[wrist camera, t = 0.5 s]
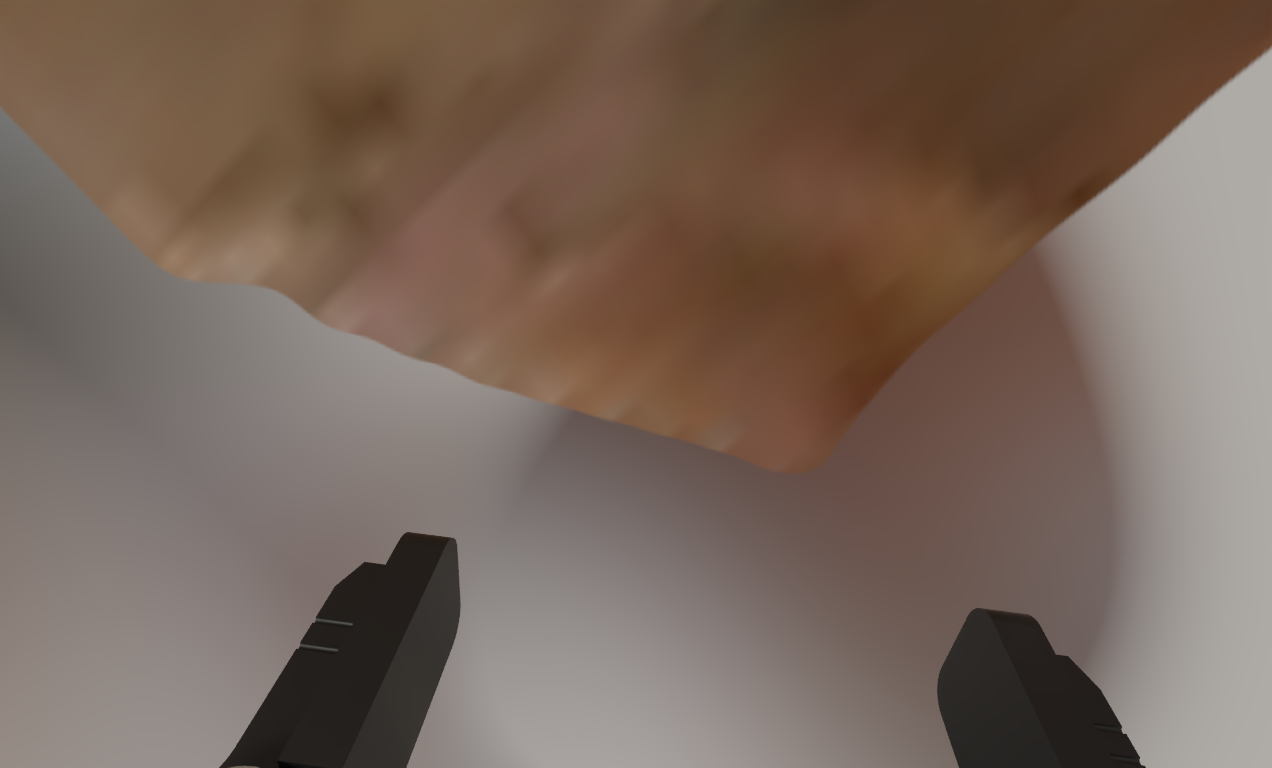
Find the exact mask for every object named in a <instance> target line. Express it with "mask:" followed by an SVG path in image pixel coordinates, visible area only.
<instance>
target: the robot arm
mask: <svg viewBox="0 0 1272 768" xmlns="http://www.w3.org/2000/svg"><path fill="white" fill-rule="evenodd" d="M459 617H460V588H459V570H458V554H457V543H456V540H455V539H454V538H449V537H442V536H434V535H426V534H418V533H411V532H407V533H405V534H404V535H403V536H402V537H401V538H400V540H399V542H398V544H397V545H396V547H395V549H394V551H393V552H392V554H391V556H390V558H389V560H388V561H387V563H386V565H383V564H376V563H368V562H364V563H363V564H362V565H361V566H359V567H358V568H357V569H356V570H355V571H353V572H352V573H351V574H350V575H348V576H347V577H346V578H345V579H343V580H342V581H341V582H340V583H339V584H337V585H336V586H335V587H334V589H333V591H332V592H331V594H330V596H329V597H328V599H327V600H326V602H325V603H324V605H323V607H322V608H321V610H320V612H319V613H318V615H317V616H316V621H315V623H312V625H311V626H310V628H309V629H308V631H307V633H306V634H305V636H304V637H303V639H302V641H301V644H300V647H299V649H296V650H295V652H294V653H293V655H292V657H291V658H290V660H289V662H288V663H287V665H286V666H285V668H284V670H283V671H282V673H281V674H280V676H279V678H278V679H277V681H276V682H275V684H274V686H273V687H272V689H271V691H270V692H269V694H268V695H267V697H266V699H265V700H264V702H263V704H262V705H261V707H260V708H259V710H258V711H257V713H256V715H255V717H254V718H253V720H252V721H251V723H250V725H249V726H248V728H247V729H246V731H245V733H244V734H243V736H242V737H241V739H240V741H239V742H238V744H237V745H236V747H235V749H234V750H233V751H232V753H231V754H230V756H229V757H228V758H227V759H226V761H225V762H224V763H223V764H222V765H221V766H220V767H219V768H406V767H407V764H408V761H409V759H410V756H411V753H412V751H413V748H414V746H415V743H416V741H417V738H418V735H419V733H420V730H421V727H422V725H423V722H424V720H425V717H426V714H427V711H428V709H429V706H430V704H431V701H432V699H433V696H434V693H435V691H436V688H437V685H438V683H439V680H440V678H441V675H442V672H443V670H444V667H445V664H446V662H447V659H448V656H449V654H450V651H451V649H452V646H453V643H454V640H455V637H456V633H457V628H458V623H459ZM937 691H938V692H937V693H938V703H939V708H940V712H941V715H942V718H943V721H944V724H945V727H946V730H947V733H948V736H949V739H950V742H951V745H952V748H953V751H954V754H955V757H956V760H957V763H958V766H959V768H1146V767H1145V766H1142V765H1141V764H1140V762H1139V759H1140V757H1139V755H1138V754H1137V752H1136V750H1135V748H1134V747H1133V745H1132V743H1131V741H1130V740H1129V738H1128V737H1127V734H1123V733H1122V730H1121V728H1122V726H1121V724H1120V722H1119V721H1118V719H1117V717H1116V716H1115V714H1114V712H1113V710H1112V709H1111V707H1110V705H1109V704H1108V702H1107V700H1106V698H1105V697H1104V695H1103V693H1102V691H1101V690H1100V689H1099V688H1098V687H1097V686H1096V685H1095V684H1094V683H1093V682H1092V680H1091V679H1090V678H1089V677H1088V676H1087V675H1086V674H1085V673H1084V672H1083V671H1082V670H1081V669H1080V668H1079V667H1078V666H1077V665H1076V664H1075V663H1074V662H1073V661H1072V660H1071V659H1070V658H1069V657H1068V656H1062V655H1056V654H1055V652H1054V650H1053V649H1052V647H1051V645H1050V643H1049V641H1048V639H1047V637H1046V636H1045V634H1044V632H1043V630H1042V628H1041V627H1040V625H1039V623H1038V622H1037V621H1036V620H1035V619H1034V618H1033V617H1032V616H1030V615H1027V614H1020V613H1012V612H1005V611H996V610H989V609H982V608H976V609H974V610H972V611H971V612H970V614H969V615H968V617H967V619H966V621H965V623H964V625H963V627H962V629H961V631H960V633H959V634H958V636H957V639H956V640H955V642H954V644H953V646H952V648H951V650H950V652H949V654H948V656H947V658H946V660H945V662H944V664H943V666H942V668H941V670H940V674H939V678H938V689H937Z"/></svg>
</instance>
